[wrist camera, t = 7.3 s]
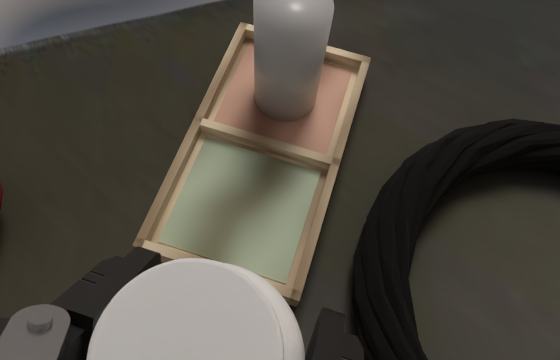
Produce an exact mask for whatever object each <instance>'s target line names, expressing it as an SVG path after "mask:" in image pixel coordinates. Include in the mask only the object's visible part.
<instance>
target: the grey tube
mask: <svg viewBox="0 0 560 360" xmlns="http://www.w3.org/2000/svg"><path fill="white" fill-rule="evenodd" d="M253 7H254V97H255V102H256V104H257V107H258V108H259V109H260V111H261V112H262V113H263V114H265V115H266V116H268V117H269V118H271V119H274V120H277V121H283V122H290V121H296V120H299V119H301V118H303V117H305V116H306V115H307V114H309V113H310V111H311V110H312V109H313V107H314V105H315V102H316V97H317V92H318V87H319V82H320V77H321V72H322V67H323V62H324V57H325V52H326V47H327V42H328V38H329V33H330V28H331V23H332V18H333V13H334V2H333V0H254V3H253Z"/></svg>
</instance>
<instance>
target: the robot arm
mask: <svg viewBox="0 0 560 360" xmlns="http://www.w3.org/2000/svg"><path fill="white" fill-rule="evenodd" d="M160 262H161V254H160V253H158V252H155V251H152V250H149V249H145V248H142V247H139V246H138V247H136V248H135V249H133V250H132V251H131V252H130V253H129V254H128V255H127V256H126V257H125V258H122V257H119V256H115V257H112V258H110V259H107V260H104V261H102V262H100V263H99V264H98V265H97V266H95V267H94V268H93V269H92V270H91V271H90V273H89V272H88V273H87V274H86V275H85V276H84V277H82V279H81V280H79V281H78V282H76V283H75V284H74V285H73V286H72V287H70V288H69V289H68V290H67V291H66V292H64V293H63V294H62V295H61V296H60V297H58V298H57V299H56V300H55V301H54V302H53V303H51V304H50V305H48V304H42V305H34V306H30V307H27V308H24V309H22V310H20V311H18V312H17V313H16V314H14V315H13V316H12V317H11V318H0V360H86V359H87V353H88V347H89V343H90V339H91V336H92V334H93V331H94V328H95V326H96V324H97V322H98V320H99V318H100V316H101V314H102V313H103V311H104V310H105V308H106V307H107V305H108V304H109V303H110V301H111V300H112V299H113V297H114V296H115V295H116V294H117V293H118V292H119V291H120V290H121V289H122V288H123V287H124V286H125V285H126V284H127V283H128V282H130V281H131V280H132V279H134V278H135V277H137V276H138V275H139V274H141V273H143V272H144V271H146V270H148V269H150V268H152V267H155V266H157V265H160ZM344 322H345V314H342V313H339V312H336V311H333V310H330V309H327V308H324V307H322V308H321V310H320V313H319V316H318V319H317V322H316V325H315V328H314V331H313V334H312V337H311V340H310V343H309V346H308V349H307V352H306V356H305V360H364V349H363V347H362V345H361V343H360V341H359V339H358V337H357V336H355V335H352V334H349V333H346V332H344Z"/></svg>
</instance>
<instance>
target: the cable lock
mask: <svg viewBox="0 0 560 360" xmlns="http://www.w3.org/2000/svg"><path fill="white" fill-rule="evenodd" d="M503 167H532V168H543V169H547V170H550V171H554V172H558V173H560V125H557V124H550V123H544V122H536V121H528V120H520V119H508V120H501V121H493V122H489V123H486V124H482V125H477V126H471V127H465V128H460V129H456V130H454V131H452V132H451V133H449V134H447V135H446V136H444V137H442V138H441V139H439V140H438V141H435V142H433V143H430V144H428V145H426V146H424V147H423V148H422V149H420V150H419V151H417V152H416V153H414V154H413V155H412V156H410V157H409V158H407V159H406V160H404V162H403V164H402V165H401V167H400V168H399V169H398V170H397V171H396V172H395V173H394V174H393V175H392V177H391V178H390V179H389V180H388V181H387V182H386V183H385V184H384V185H383V186H382V188H381V190H380V192H379V194H378V196H377V198H376V200H375V202H374V204H373V206H372V208H371V210H370V212H369V214H368V216H367V220H366V222H365V224H364V227H363V230H362V233H361V236H360V239H359V242H358V245H357V248H356V251H355V254H354V286H353V295H352V301H353V307H354V313H355V319H356V325H357V331H358V337H359V341H360V343H361V345H362V347H363V349H364V358H365V360H428V359H427V357H426V355H425V354H424V352H423V350H422V347H421V344H420V342H419V339H418V333H417V327H416V321H415V315H414V309H413V303H412V298H411V292H410V286H409V280H408V277H409V272H410V268H411V263H412V258H413V254H414V249H415V244H416V240H417V236H418V232H419V229H420V226H421V224H422V222H423V221H424V219H425V218H426V216H427V215H428V213H429V212H430V210H431V209H432V208H433V206H434V205H435V203H436V202H437V200H438V199H440V198H441V197H442V196H444V195H445V194H446V193H447V192H449V191H450V190H451V189H453V188H454V187H455V186H456V185H458V184H459V183H460V182H462V181H463V180H464V179H466V178H467V177H469V176H472V175H476V174H479V173H483V172H486V171H490V170H494V169H497V168H503Z"/></svg>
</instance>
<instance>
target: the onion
mask: <svg viewBox="0 0 560 360" xmlns="http://www.w3.org/2000/svg"><path fill="white" fill-rule="evenodd" d="M2 196H3V188H2V185H1V183H0V209H1V205H2Z"/></svg>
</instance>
